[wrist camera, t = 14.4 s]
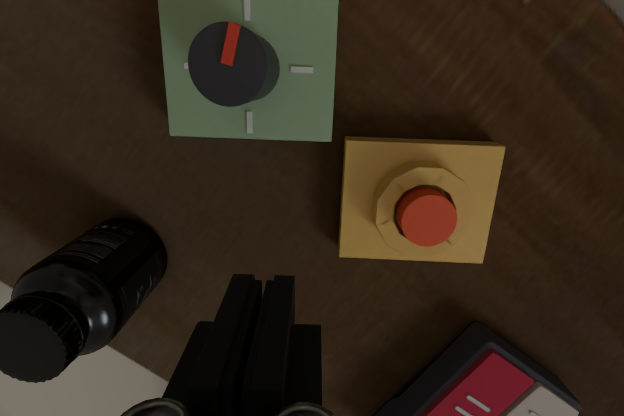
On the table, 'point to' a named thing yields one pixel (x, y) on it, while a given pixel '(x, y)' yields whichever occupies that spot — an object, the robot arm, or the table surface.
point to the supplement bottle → (78, 298)
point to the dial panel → (292, 78)
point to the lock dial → (232, 64)
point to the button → (426, 217)
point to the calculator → (484, 383)
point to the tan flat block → (409, 176)
